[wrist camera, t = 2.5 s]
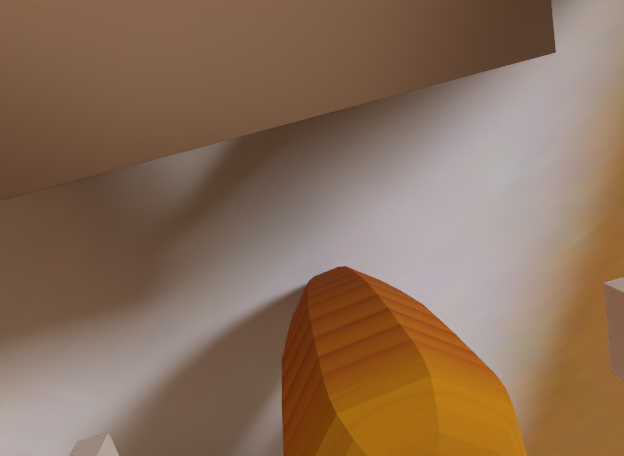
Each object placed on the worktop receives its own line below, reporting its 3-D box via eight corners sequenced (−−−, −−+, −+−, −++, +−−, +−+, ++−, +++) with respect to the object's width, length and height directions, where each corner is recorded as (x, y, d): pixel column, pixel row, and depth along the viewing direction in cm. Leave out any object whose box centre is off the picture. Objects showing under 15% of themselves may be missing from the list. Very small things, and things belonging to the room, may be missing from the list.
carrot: (271, 224, 18) (332, 712, 3) (390, 225, 18) (900, 633, 4) (269, 336, 19) (309, 1066, 4) (381, 333, 19) (743, 959, 5)
